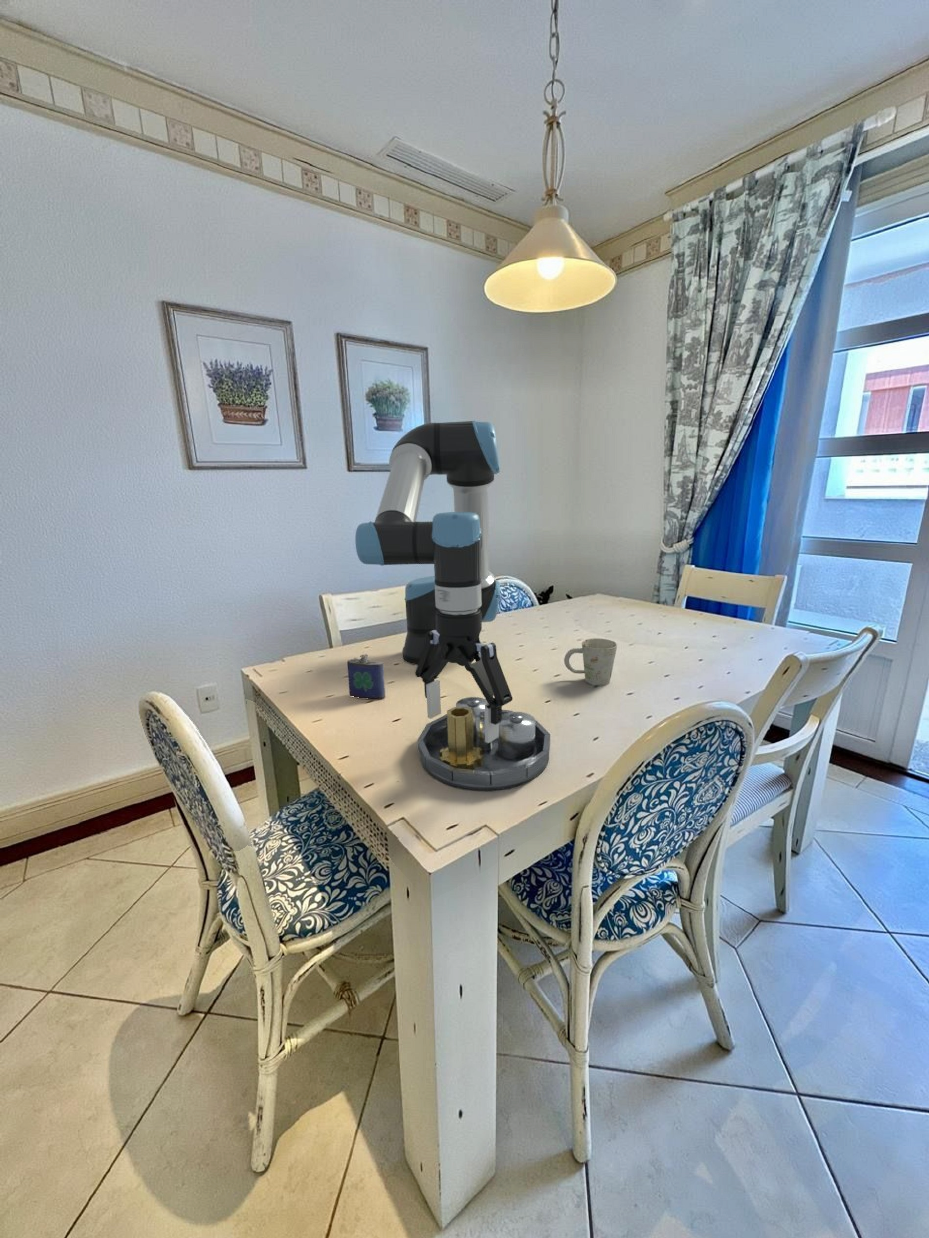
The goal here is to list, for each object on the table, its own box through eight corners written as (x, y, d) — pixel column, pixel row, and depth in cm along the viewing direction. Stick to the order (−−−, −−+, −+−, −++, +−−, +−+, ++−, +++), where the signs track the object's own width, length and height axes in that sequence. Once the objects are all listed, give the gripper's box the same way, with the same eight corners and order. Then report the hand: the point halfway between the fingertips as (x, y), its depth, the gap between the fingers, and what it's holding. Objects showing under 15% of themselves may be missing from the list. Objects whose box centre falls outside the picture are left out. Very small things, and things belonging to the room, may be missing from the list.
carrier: (393, 756, 91) (390, 717, 89) (477, 712, 108) (477, 678, 106) (493, 810, 76) (493, 764, 74) (573, 748, 93) (575, 709, 91)
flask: (387, 696, 118) (384, 653, 115) (382, 701, 115) (378, 658, 113) (352, 692, 121) (348, 651, 118) (346, 697, 118) (342, 655, 115)
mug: (616, 688, 119) (618, 649, 117) (563, 685, 122) (564, 647, 119) (613, 675, 127) (615, 638, 124) (563, 673, 130) (564, 637, 127)
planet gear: (430, 762, 87) (428, 713, 85) (460, 745, 92) (458, 699, 90) (462, 778, 82) (460, 727, 80) (491, 759, 87) (491, 710, 85)
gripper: (391, 602, 86) (398, 713, 91) (505, 627, 69) (505, 760, 75) (422, 595, 91) (427, 700, 97) (535, 616, 75) (533, 741, 80)
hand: (461, 727), depth 86 cm, fingers open, 13 cm apart
